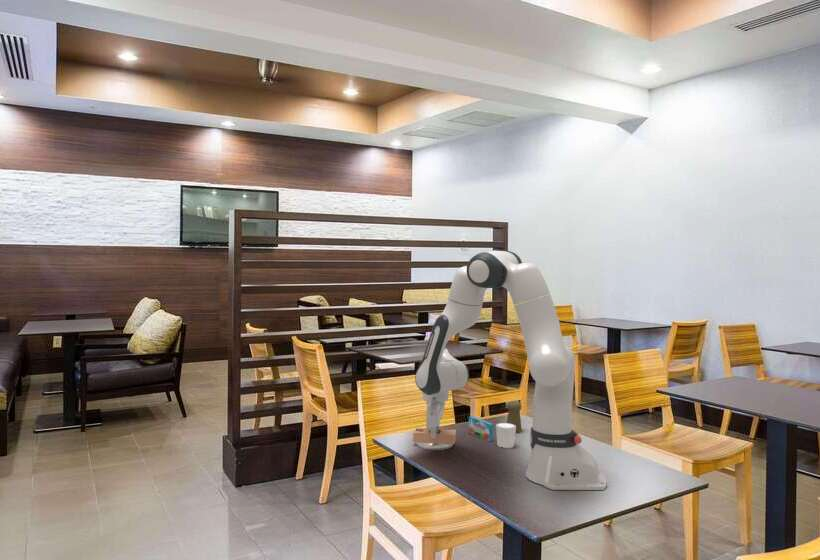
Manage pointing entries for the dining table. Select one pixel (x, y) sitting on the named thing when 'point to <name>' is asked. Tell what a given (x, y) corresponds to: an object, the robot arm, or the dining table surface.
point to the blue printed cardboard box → (480, 428)
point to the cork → (514, 415)
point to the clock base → (433, 445)
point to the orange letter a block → (441, 436)
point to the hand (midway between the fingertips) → (435, 434)
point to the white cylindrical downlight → (505, 435)
